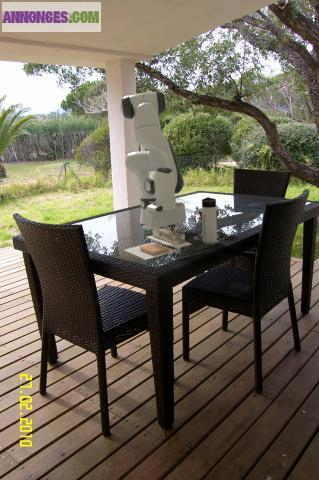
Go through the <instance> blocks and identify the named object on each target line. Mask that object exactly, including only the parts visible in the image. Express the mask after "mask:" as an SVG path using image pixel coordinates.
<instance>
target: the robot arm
mask: <svg viewBox="0 0 319 480" xmlns="http://www.w3.org/2000/svg"><path fill="white" fill-rule="evenodd" d="M167 105H168V100H167V97H166V95H165V94H164V92H163V91H145V92H140V93H136V94H132V95H129V94H128V95H125V96H124V97H121V100H120V106H119V107H120V112H121V114H122V115H123V117H124V118H125V119H129V120H133V129H134V130H133V131H134V136H135V137H134V138H135V142H136V143H137V144H138V145H139V146H141V147H144V148H145V149H146V151H145V150H144V151H141V150H140V151H138V150H137V151H133V152H130V153H127V155H126V156H125V159H124V165H125V168H126V169H127V171H129V172H130V173H132V174H133V176H135V178H136V180H137V182H138V184H139V191H140V198H139V199H140V200H139V201H140V207H141V208H140V210H141V211H140V220H139V224H141V225H145V226H146V227H147V228H148V229H150V230H153V229H154V230H155V232H156V233H157V237H161V236H162V235H161V233H160V232H159V231H158V230H159V228H163V227H168V226H173V225H175V226H174V228H172V232H175V233H178V234H179V229H180V225H181V223H184V222H186V221H187V212H186V206H185V203H184V202H181V201H180V202H177V201H176V200H177V199H176V195H177V194H179V193H180V192H181V191H182V190H183V188H184V185H185V182H184V177H183V176H182V174H181V171H180V169H179V166H178V162H177V159H176V156H175V152H174V149H173V146H172V143H171V141H170V139H168V138H167V137H166V136H165V135H164V133H163V130H162V128H161V127H162V126H161V121H160V118H159V116H160V115H162V114H164V113H165V112H166V111H167ZM152 172H153V173H152ZM150 173H151V174H150Z"/></svg>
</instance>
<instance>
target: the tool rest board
mask: <svg viewBox="0 0 319 480" xmlns="http://www.w3.org/2000/svg"><path fill="white" fill-rule="evenodd" d="M145 237H146V239H149V240H152V241H153V242H158V243H160V244H164V245H166V246H168V247H170V248H171V247H172V248H173V249H180V248H184V247H188V246H192V243H190V242H187V241H185V243H182V244H178V245H173V243H170V242H167V241H164V240H161V239H159V238H156V237H153V234H151V235H149V236H145Z"/></svg>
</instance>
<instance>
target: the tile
mask: <svg viewBox="0 0 319 480" xmlns="http://www.w3.org/2000/svg"><path fill="white" fill-rule="evenodd" d="M152 243H153V242H152ZM148 244H149V243H148ZM144 245H145V244H144ZM140 246H141V245H140ZM169 248H170V247H169V246H168V247H167V246H165V245H162V244H161V243H160V244H159V243H156V242H154V243H153V244H149V245H145V246H141V247H140V250H142V251H144V252H146V253H149V254H151V255H156V254H160V253H163V252H167V251H169Z"/></svg>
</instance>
